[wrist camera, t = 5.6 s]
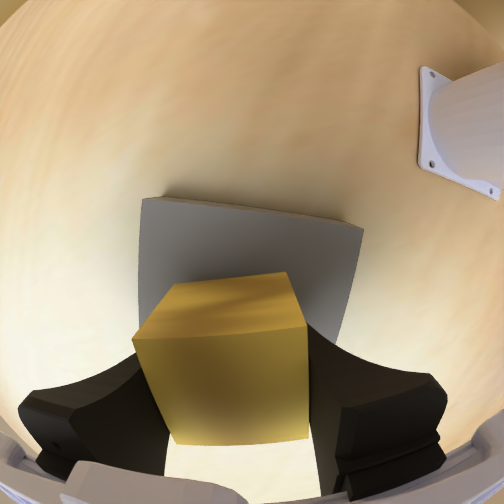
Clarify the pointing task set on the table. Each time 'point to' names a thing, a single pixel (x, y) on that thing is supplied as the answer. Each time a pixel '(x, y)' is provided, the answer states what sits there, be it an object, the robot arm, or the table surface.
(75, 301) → the table surface
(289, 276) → the base block
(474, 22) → the table surface
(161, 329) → the mustard cube
